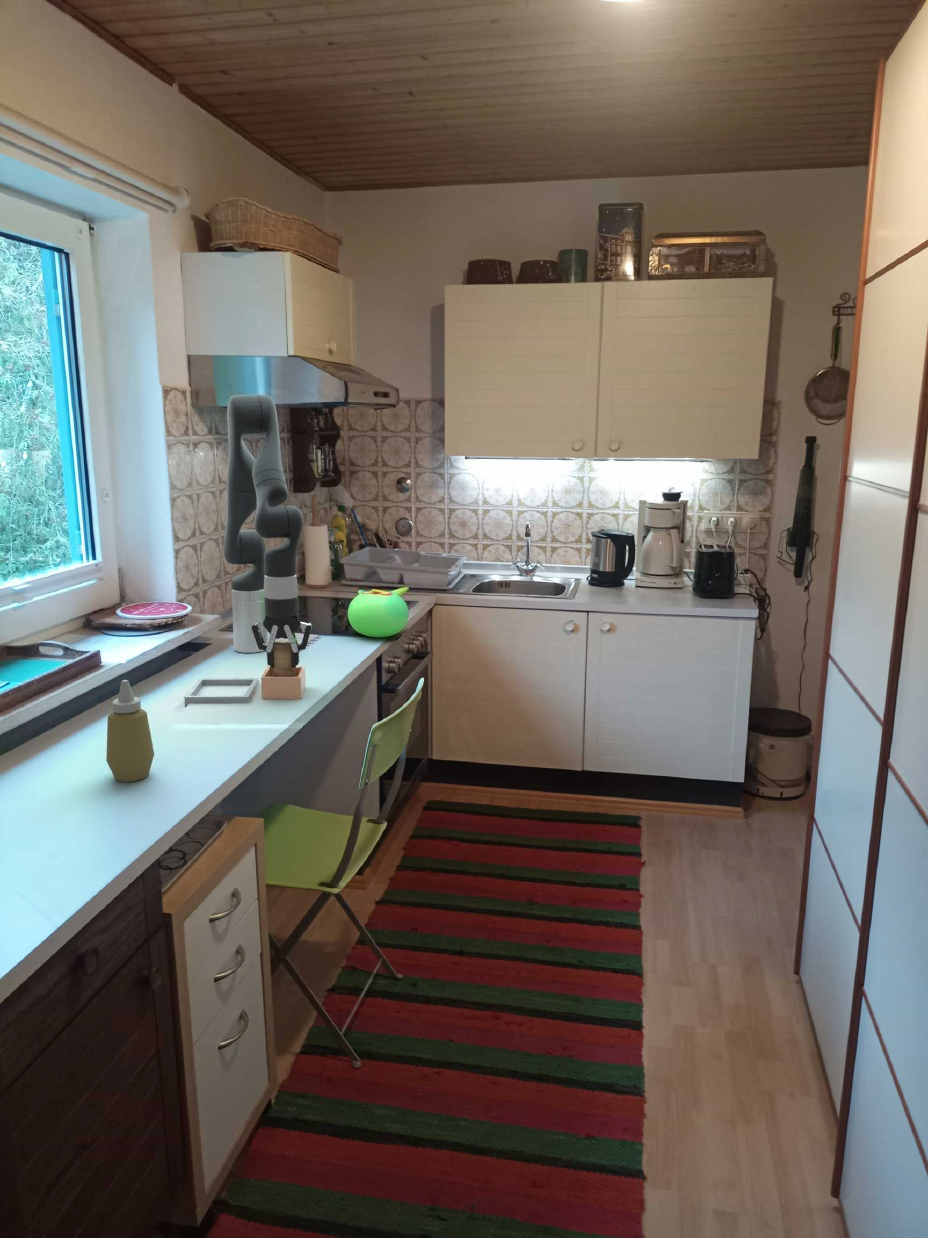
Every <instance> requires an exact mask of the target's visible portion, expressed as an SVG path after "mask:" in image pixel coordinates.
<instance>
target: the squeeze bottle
mask: <svg viewBox="0 0 928 1238" xmlns="http://www.w3.org/2000/svg"><path fill="white" fill-rule="evenodd" d="M111 704H112V705H111V706H112V711H111V712H110V713H109V714H108V716H107V729H106V730H107V731H106V756H105V757H106V759H105V761H106V763H107V765H108V767H109V770H110V771H111V774H112V776H113V778H114V779H115V780H116V781H119V782H121V783H122V782H126V783H128V782H129V783H131V782H136V781H141V780H143V779H145V778H147V777H148V776H149V774H150V771H151V767H152V764H153V760H154V757H155V751H154V744H153V740H152V734H151V728H150V724H149V718H148V712H146V710H144V709H143V708H142V704H141V698H140V697H137V696H134V694H133V691H132V688H131V685H130V682H129V680H127V679H123V680H121V681H120V687H119V693H118V698H116V699H113V701H112V702H111Z"/></svg>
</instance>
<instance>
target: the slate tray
mask: <svg viewBox="0 0 928 1238" xmlns="http://www.w3.org/2000/svg"><path fill="white" fill-rule="evenodd" d="M259 684H260V679H259V678H258V677H257V678H253V677H251V678H247V677H245V678H241V677H238V678H237V677H236V678H235V677H234V678H221V677H219V678H212V677H211V678H198V679H197V680H196V681H195V683H194V684H193V686H192V687H191V688H190V689H189V690H188V691H187V693H186V694H185V696H184V708H187V707H188V705H189V704H223V703H224V704H233V703H234V704H237V703H238V704H239V703H240V704H241V703H242V704H246V703H247V704H248V703H250V701H251V699H252V697H253V695H254V693H255V691H256V690H257V688H258V686H259ZM203 686H249V687H248V689H247V691H246V692H245V693H244V695H196V694H197V693H198V692H199V691H200V689H201V688H202V687H203Z"/></svg>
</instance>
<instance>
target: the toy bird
mask: <svg viewBox="0 0 928 1238" xmlns="http://www.w3.org/2000/svg"><path fill="white" fill-rule="evenodd" d="M409 589H410V588H409V587H400V588H397V589H394V590H379V589H371V590H367V591H365V590H363V589H359V590H358V591H357V593H358V595H357V596H355V597H354V598H353V599H352V600H351V602H350V603H349V606H348V608H347V609H348V610H347V618H348V622H349V624H350V626H351V627H352V628H353V629H354V631H356V632H357V633H359V634H361V635H364V636H366V637H370V638H387V637H391V636H395V635H396V634H398V633H400V632H402V630H403V629H404V628H406V625H407V624H408V621H409V617H410V615H409V614H410V612H409V607H408V605H407V602H406V601H405V599H403V598H402V597H401V596H402V595H404V594H406V592H408V590H409Z"/></svg>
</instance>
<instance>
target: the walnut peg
mask: <svg viewBox="0 0 928 1238" xmlns="http://www.w3.org/2000/svg"><path fill="white" fill-rule="evenodd" d="M292 652H293V650H292V647H291V644H290V643H289V640H288V639H284V640H283V639H282V640H275V642H274V644H273V665H274V677H294V669H293V667H292Z"/></svg>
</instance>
